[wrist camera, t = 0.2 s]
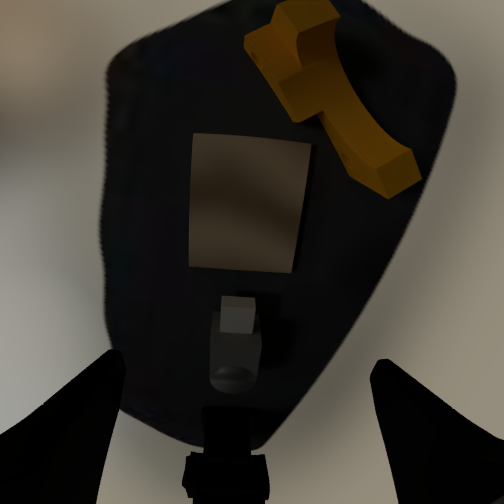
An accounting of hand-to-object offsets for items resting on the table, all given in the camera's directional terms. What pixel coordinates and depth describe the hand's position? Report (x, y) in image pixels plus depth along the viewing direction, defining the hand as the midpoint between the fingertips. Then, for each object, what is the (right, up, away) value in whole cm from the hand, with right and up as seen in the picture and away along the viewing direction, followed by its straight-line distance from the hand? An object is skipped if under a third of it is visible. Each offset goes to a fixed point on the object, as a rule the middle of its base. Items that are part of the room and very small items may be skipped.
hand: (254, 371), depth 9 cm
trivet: (-1, +7, +12) cm, 14 cm away
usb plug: (-2, -2, +17) cm, 17 cm away
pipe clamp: (+4, +14, +9) cm, 18 cm away
